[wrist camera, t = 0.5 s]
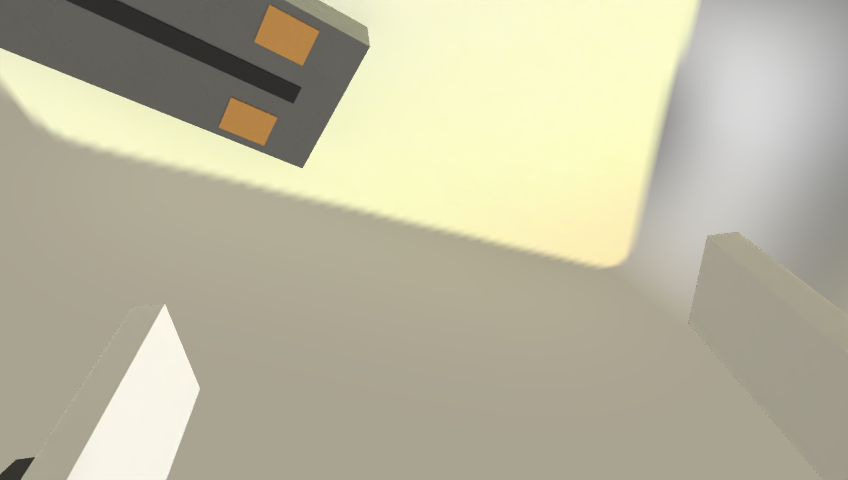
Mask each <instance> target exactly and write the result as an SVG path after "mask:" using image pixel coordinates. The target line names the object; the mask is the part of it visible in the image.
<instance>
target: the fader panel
mask: <svg viewBox="0 0 848 480" xmlns="http://www.w3.org/2000/svg"><path fill="white" fill-rule="evenodd" d="M369 47H370V44H369V37H368V29H367V27H365V26H364V25H362V24H360V23H358V22H357V21H355V20H353V19H351V18H349V17H348V16H346V15H344V14H342V13H341V12H339V11H337V10H335V9H333V8H332V7H330V6H328V5H326V4H325V3H323V2H321V1H319V0H0V48H2V49H5V50H7V51H10V52H12V53H15V54H17V55H20V56H22V57H25V58H27V59H30V60H32V61H35V62H37V63H40V64H42V65H45V66H47V67H50V68H52V69H55V70H57V71H60V72H62V73H65V74H67V75H70V76H72V77H75V78H77V79H80V80H82V81H85V82H87V83H90V84H92V85H95V86H97V87H100V88H102V89H105V90H107V91H110V92H112V93H115V94H117V95H120V96H122V97H125V98H127V99H130V100H132V101H135V102H137V103H140V104H142V105H145V106H147V107H150V108H152V109H155V110H157V111H160V112H162V113H165V114H167V115H170V116H172V117H175V118H177V119H180V120H182V121H185V122H188V123H190V124H193V125H195V126H198V127H200V128H203V129H205V130H208V131H210V132H213V133H215V134H218V135H220V136H223V137H225V138H228V139H230V140H233V141H235V142H238V143H240V144H243V145H245V146H248V147H250V148H253V149H255V150H258V151H260V152H263V153H265V154H268V155H270V156H273V157H275V158H278V159H280V160H283V161H285V162H288V163H290V164H293V165H295V166H298V167H300V168H303V166H304V165H305V163H306V161H307V159H308V157H309V155H310V154H311V152H312V150H313V148H314V146H315V145H316V143H317V141H318V139H319V137H320V136H321V134H322V132H323V130H324V128H325V127H326V125H327V123H328V121H329V119H330V118H331V116H332V114H333V112H334V110H335V109H336V107H337V105H338V103H339V101H340V99H341V98H342V96H343V94H344V92H345V90H346V89H347V87H348V85H349V83H350V81H351V80H352V78H353V76H354V74H355V72H356V71H357V69H358V67H359V65H360V63H361V62H362V60H363V58H364V56H365V54H366V53H367V51H368V49H369Z"/></svg>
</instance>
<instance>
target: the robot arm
mask: <svg viewBox="0 0 848 480" xmlns="http://www.w3.org/2000/svg"><path fill="white" fill-rule="evenodd" d="M688 324H689V325H690V326H691V327H692V329H693V330H694V331H695V332H696V333H697V334H698V335H699V336H700V338H701V339H702V340H703V341H704V342H705V344H706V345H707V346H708V347H709V348H710V349H711V350H712V352H713V353H714V354H715V355H716V356H717V358H718V359H719V360H720V361H721V362H722V363H723V364H724V366H725V367H726V368H727V369H728V370H729V371H730V373H731V374H732V375H733V376H734V377H735V378H736V379H737V380H738V382H739V383H740V384H741V385H742V386H743V388H744V389H745V390H746V391H747V392H748V393H749V394H750V396H751V397H752V398H753V399H754V400H755V401H756V403H757V404H758V405H759V406H760V407H761V408H762V410H763V411H764V412H765V413H766V414H767V415H768V417H769V418H770V419H771V420H772V421H773V422H774V423H775V424H776V426H777V427H778V428H779V429H780V430H781V432H782V433H783V434H784V435H785V436H786V437H787V438H788V440H789V441H790V442H791V443H792V444H793V445H794V446H795V448H796V449H797V450H798V451H799V452H800V453H801V455H802V456H803V457H804V458H805V459H806V460H807V462H808V463H809V464H810V465H811V466H812V467H813V469H814V470H815V471H816V472H817V473H818V474H819V475H820V477H821V478H822V479H823V480H848V315H846V314H845V313H843V312H842V311H841V310H840V309H838V308H837V307H836V306H834V305H833V304H832V303H831V302H829V301H828V300H827V299H825V298H824V297H823V296H821V295H820V294H819V293H817V292H816V291H814V290H813V289H812V288H811V287H809V286H808V285H807V284H805V283H804V282H803V281H801V280H800V279H799V278H798V277H796V276H795V275H794V274H792V273H791V272H789V271H788V270H787V269H786V268H784V267H783V266H782V265H780V264H779V263H778V262H777V261H775V260H774V259H773V258H771V257H770V256H769V255H767V254H766V253H765V252H763V251H762V250H761V249H759V248H758V247H757V246H755V245H754V244H753V243H752V242H750V241H749V240H748V239H746V238H745V237H743V236H742V235H741V234H740V233H738V232H733V233H724V234H716V235H709V236H707V240H706V244H705V249H704V254H703V258H702V263H701V267H700V272H699V276H698V281H697V286H696V290H695V295H694V299H693V304H692V308H691V313H690V317H689V322H688ZM199 390H200V388H199V386H198V383H197V381H196V378H195V376H194V373H193V371H192V369H191V366H190V364H189V361H188V359H187V357H186V354H185V352H184V349H183V347H182V344H181V342H180V339H179V337H178V335H177V332H176V330H175V327H174V325H173V322H172V320H171V318H170V315H169V313H168V310H167V308H166V305H165V304H158V305H150V306H142V307H135V308H131V309H130V311H129V312H128V314H127V315H126V317H125V318H124V320H123V322H122V323H121V325H120V326H119V328H118V329H117V331H116V333H115V334H114V336H113V337H112V339H111V340H110V342H109V344H108V345H107V346H106V348H105V350H104V351H103V353H102V354H101V356H100V357H99V359H98V360H97V362H96V364H95V365H94V367H93V368H92V370H91V372H90V373H89V374H88V376H87V378H86V379H85V381H84V382H83V384H82V386H81V387H80V389H79V390H78V392H77V393H76V395H75V396H74V398H73V399H72V401H71V402H70V404H69V406H68V407H67V409H66V410H65V412H64V413H63V415H62V416H61V418H60V419H59V421H58V423H57V424H56V426H55V427H54V429H53V431H52V432H51V433H50V435H49V437H48V438H47V440H46V441H45V443H44V444H43V446H42V448H41V449H40V451H39V452H38V454H37V455H36V457H33V458H25V459H18V460H16V461H14V462H13V463H12V464H11V465H10V466H9V467H8V468H7V469H6V470H5V471H3V472H2V473H1V474H0V480H166V479H167V476H168V473H169V471H170V468H171V465H172V462H173V460H174V457H175V454H176V452H177V449H178V446H179V443H180V441H181V438H182V436H183V433H184V430H185V427H186V425H187V422H188V419H189V417H190V414H191V411H192V409H193V406H194V403H195V400H196V398H197V395H198V392H199Z"/></svg>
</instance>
